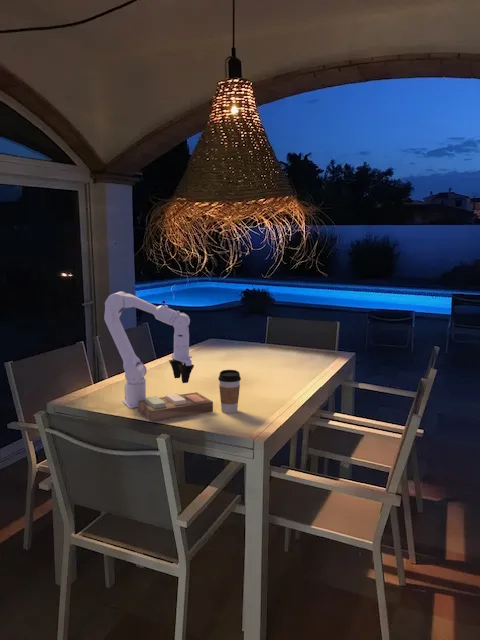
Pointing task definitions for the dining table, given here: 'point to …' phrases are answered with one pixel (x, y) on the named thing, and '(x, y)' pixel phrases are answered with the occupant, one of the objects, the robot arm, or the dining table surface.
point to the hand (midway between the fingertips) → (181, 380)
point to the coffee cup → (229, 390)
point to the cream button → (175, 399)
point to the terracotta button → (195, 398)
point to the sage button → (155, 402)
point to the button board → (175, 408)
